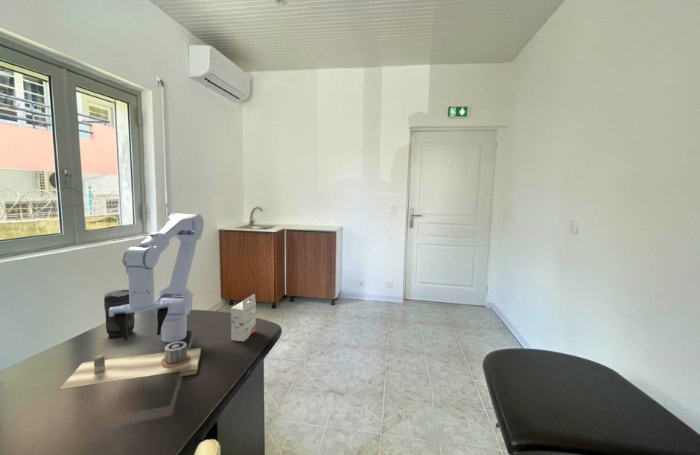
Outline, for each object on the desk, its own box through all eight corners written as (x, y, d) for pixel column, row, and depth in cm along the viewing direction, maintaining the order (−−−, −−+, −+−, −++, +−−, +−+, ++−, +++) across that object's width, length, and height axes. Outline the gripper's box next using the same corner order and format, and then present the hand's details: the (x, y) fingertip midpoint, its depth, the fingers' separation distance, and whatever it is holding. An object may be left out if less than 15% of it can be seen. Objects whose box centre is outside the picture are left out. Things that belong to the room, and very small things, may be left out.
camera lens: (118, 328, 108) (116, 288, 106) (140, 329, 108) (139, 289, 106) (99, 339, 100) (97, 296, 98) (123, 340, 100) (121, 297, 98)
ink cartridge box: (243, 329, 112) (244, 291, 110) (255, 331, 111) (256, 293, 109) (230, 340, 104) (230, 299, 102) (243, 342, 103) (243, 301, 101)
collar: (162, 359, 87) (161, 346, 86) (181, 352, 91) (181, 339, 91) (169, 366, 83) (169, 352, 83) (189, 358, 88) (189, 345, 87)
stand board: (82, 367, 84) (81, 347, 84) (200, 352, 95) (200, 334, 95) (59, 394, 73) (58, 372, 73) (196, 373, 84) (196, 353, 83)
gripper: (105, 297, 76) (107, 347, 78) (171, 291, 83) (172, 337, 85) (111, 289, 83) (113, 336, 84) (172, 283, 90) (173, 327, 91)
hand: (143, 336), depth 85 cm, fingers open, 7 cm apart
